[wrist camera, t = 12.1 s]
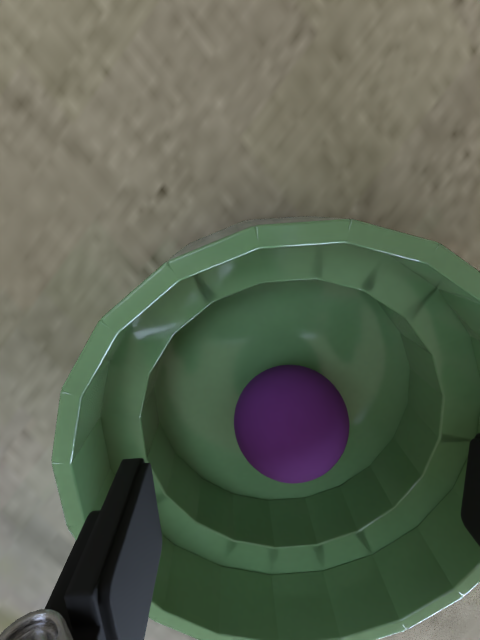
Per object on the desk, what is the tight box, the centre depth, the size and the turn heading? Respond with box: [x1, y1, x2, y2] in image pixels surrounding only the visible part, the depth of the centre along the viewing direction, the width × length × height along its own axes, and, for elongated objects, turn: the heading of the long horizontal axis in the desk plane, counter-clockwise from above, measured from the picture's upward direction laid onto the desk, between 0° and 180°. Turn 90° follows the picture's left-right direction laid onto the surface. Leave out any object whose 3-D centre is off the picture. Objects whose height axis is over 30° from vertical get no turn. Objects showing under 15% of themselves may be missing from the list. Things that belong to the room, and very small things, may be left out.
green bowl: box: [51, 216, 480, 640], centre depth 14 cm, size 15×15×6 cm
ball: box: [234, 365, 349, 483], centre depth 14 cm, size 4×4×4 cm
